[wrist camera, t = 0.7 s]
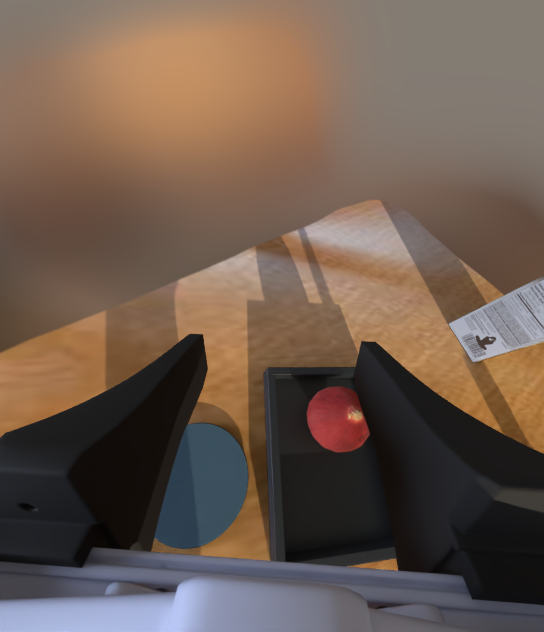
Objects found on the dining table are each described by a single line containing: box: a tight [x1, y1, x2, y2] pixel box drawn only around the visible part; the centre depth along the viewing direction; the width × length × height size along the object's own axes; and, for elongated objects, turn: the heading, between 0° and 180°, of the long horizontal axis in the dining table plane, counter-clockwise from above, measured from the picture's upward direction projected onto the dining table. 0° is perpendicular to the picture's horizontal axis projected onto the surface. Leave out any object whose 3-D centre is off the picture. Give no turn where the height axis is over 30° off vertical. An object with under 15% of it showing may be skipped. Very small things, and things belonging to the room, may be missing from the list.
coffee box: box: [449, 276, 544, 363], centre depth 31 cm, size 9×6×16 cm
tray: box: [264, 367, 396, 567], centre depth 26 cm, size 17×13×2 cm
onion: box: [307, 386, 370, 452], centre depth 24 cm, size 6×6×8 cm
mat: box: [155, 423, 248, 549], centre depth 24 cm, size 10×10×1 cm
